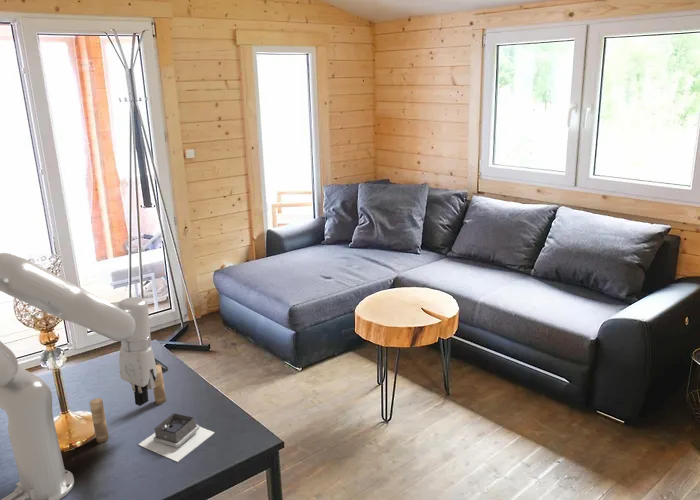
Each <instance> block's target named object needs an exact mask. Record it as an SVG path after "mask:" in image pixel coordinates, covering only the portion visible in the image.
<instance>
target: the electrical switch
mask: <svg viewBox="0 0 700 500" xmlns="http://www.w3.org/2000/svg"><path fill="white" fill-rule="evenodd" d="M165 425H167V427H166V428H165ZM199 427H200V425H199V424H197V423H196V421H195V418H194V417H191V416H188V415H183V414H180V413H174V412H173V413H172V414H171V415H170V416H168V417H167V418H166V419H164V420H163V421H162V422H160V424H158V425H157V426H156V427H155V428H154V433H155V435H156V436H155V437H153V439H154V442H158V443H162V444H166V445H170V446H174V447H179V446H180V445H181V444H182V443H184V442H185V441H186V440H187V439H188V438H189V437H190V436H192V435H193V434H194V433H195V432H196V431H197V430H198V429H199Z"/></svg>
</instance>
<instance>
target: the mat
mask: <svg viewBox="0 0 700 500" xmlns="http://www.w3.org/2000/svg"><path fill="white" fill-rule="evenodd" d="M166 427H167V425H166V424H165V428H166ZM214 434H215V431H212V430H210V429H207V428H204V427H202V426H199V429H198V430H197V431H196V432H195V433H194V434H193V435H192V436H190V437H189V438H188V439H187V440H186V441H185V442H184V443H182V444H181V445H180V446H179V447H174V446H170V445H166V444H162V443H158V442H154V439H153V437H155V436H156V435H155V432H154V433H153V434H151V435H150V436H148V437H146V438H145V439H143V440H142V441H141V442H140V443H138V446H140V447H142V448H145V449H147V450H149V451H151V452H153V453H156V454H158V455H160V456H162V457H165V458H167V459H170V460H171V461H174V462H177V463H179V462H180V461H181V460H182V459H183V458H185V457H186V456H188V455H189V454H190V453H191V452H193V451H194V450H195V449H197V447H199V446H201V445H202V444H203V443H204V442H206V441H207V440H208V439H209V438H210V437H212V436H213V435H214Z"/></svg>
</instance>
